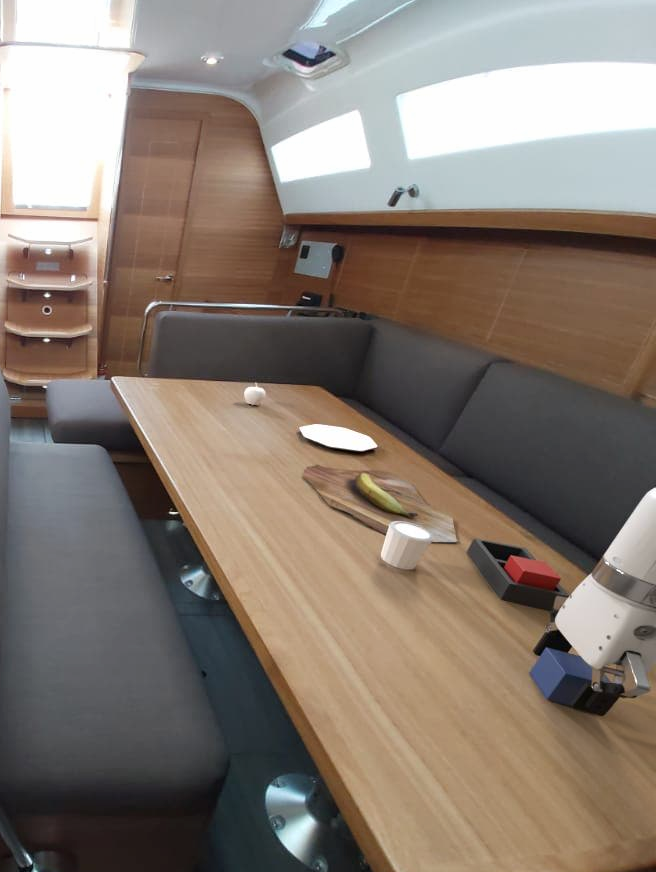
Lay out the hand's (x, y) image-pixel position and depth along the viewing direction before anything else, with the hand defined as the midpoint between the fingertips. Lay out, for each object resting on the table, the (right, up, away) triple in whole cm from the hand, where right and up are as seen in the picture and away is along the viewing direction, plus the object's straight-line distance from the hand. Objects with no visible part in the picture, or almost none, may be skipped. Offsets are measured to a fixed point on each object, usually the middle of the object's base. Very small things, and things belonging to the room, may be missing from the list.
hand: (565, 682), depth 68 cm
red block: (+14, +8, +20) cm, 26 cm away
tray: (+16, +9, +24) cm, 30 cm away
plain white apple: (+11, +52, +114) cm, 126 cm away
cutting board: (+10, +21, +50) cm, 55 cm away
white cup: (-2, +11, +28) cm, 30 cm away
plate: (+22, +37, +84) cm, 94 cm away
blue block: (0, -2, +1) cm, 2 cm away
